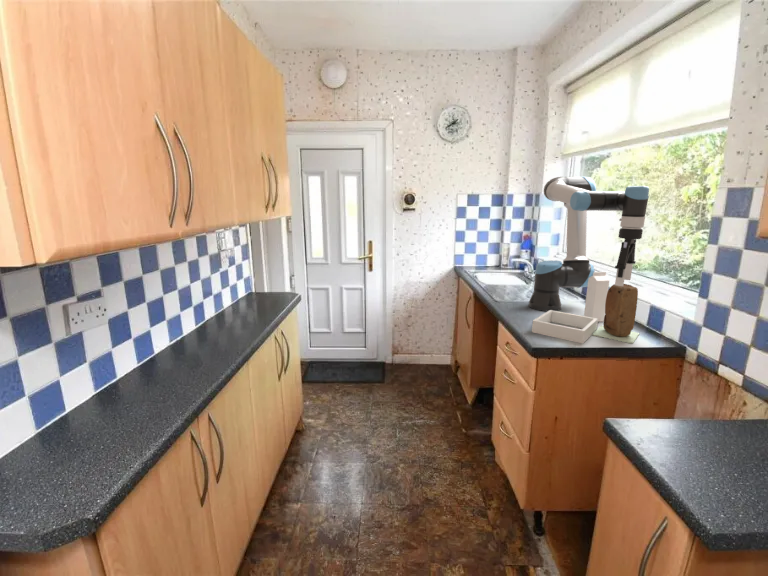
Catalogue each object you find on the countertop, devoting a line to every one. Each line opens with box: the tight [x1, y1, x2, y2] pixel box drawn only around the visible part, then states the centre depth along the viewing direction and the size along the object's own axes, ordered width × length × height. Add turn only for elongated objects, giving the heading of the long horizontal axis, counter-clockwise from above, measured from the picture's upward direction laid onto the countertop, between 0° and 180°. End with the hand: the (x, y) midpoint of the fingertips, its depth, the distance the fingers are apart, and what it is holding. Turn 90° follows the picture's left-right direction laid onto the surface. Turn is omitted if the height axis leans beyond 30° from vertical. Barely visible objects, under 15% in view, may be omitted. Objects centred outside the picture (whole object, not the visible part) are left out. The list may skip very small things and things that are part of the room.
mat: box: [591, 325, 640, 344], centre depth 157 cm, size 14×14×1 cm
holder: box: [531, 310, 598, 344], centre depth 160 cm, size 20×19×5 cm
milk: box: [583, 271, 610, 323], centre depth 174 cm, size 6×6×22 cm
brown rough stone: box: [603, 283, 639, 337], centre depth 154 cm, size 11×8×20 cm
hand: (622, 282), depth 152 cm, fingers open, 13 cm apart
